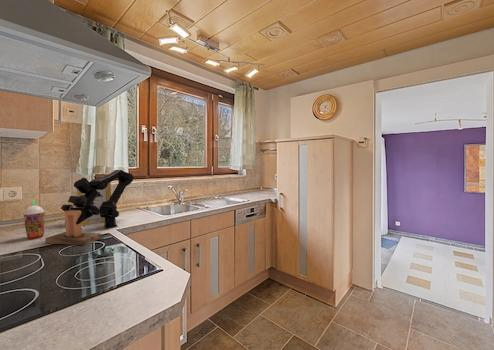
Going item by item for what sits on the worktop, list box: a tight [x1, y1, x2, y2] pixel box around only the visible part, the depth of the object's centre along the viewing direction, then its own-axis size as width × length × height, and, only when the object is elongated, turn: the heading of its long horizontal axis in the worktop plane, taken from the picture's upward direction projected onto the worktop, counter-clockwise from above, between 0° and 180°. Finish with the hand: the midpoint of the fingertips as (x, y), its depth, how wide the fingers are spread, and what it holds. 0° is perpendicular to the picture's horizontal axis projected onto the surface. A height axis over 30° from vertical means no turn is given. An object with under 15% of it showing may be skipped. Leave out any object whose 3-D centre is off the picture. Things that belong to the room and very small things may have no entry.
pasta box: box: [76, 179, 112, 227], centre depth 150 cm, size 18×10×28 cm, turn 125°
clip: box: [64, 210, 83, 237], centre depth 115 cm, size 3×6×13 cm, turn 82°
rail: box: [45, 231, 102, 246], centre depth 115 cm, size 10×22×2 cm, turn 82°
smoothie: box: [23, 199, 46, 240], centre depth 119 cm, size 8×8×20 cm
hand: (71, 223), depth 113 cm, fingers closed on clip, 6 cm apart
